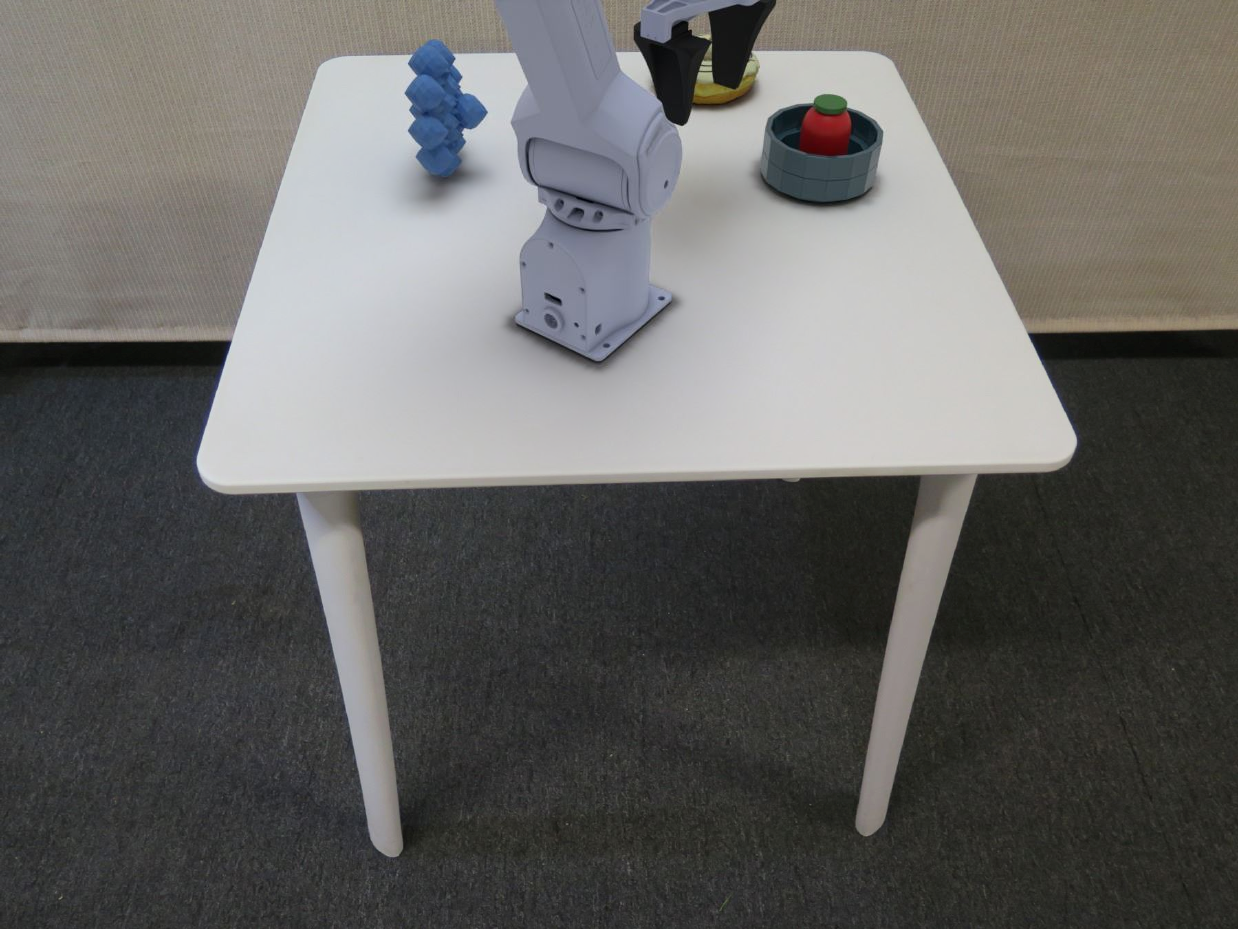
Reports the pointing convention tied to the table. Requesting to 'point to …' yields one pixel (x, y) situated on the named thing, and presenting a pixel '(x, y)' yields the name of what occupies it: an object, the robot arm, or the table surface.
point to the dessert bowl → (819, 158)
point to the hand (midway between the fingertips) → (700, 102)
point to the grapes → (440, 108)
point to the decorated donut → (716, 93)
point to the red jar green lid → (826, 127)
